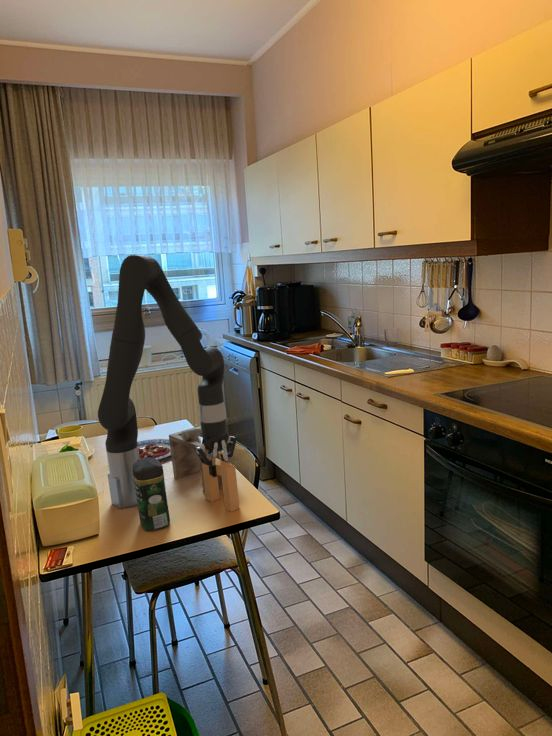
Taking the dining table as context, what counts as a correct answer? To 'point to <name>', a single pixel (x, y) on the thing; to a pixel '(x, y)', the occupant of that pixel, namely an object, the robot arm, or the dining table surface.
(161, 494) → the coffee jar
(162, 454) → the ceramic plate
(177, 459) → the shelf stand
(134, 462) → the robot arm
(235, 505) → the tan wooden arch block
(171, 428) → the dining table surface
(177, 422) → the dining table surface
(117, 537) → the dining table surface
